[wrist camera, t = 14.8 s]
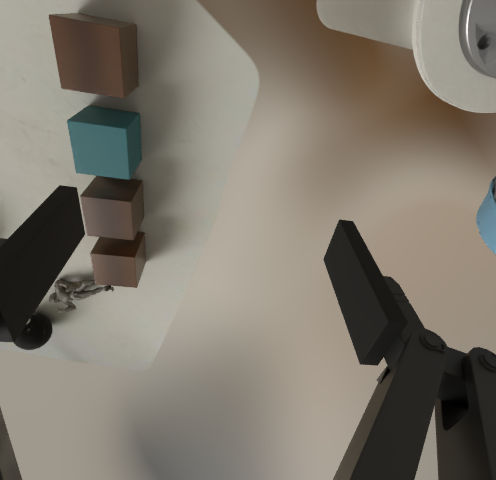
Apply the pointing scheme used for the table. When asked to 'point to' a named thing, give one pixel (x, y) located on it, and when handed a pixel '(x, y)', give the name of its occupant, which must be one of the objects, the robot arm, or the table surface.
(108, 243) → the walnut block
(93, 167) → the teal block
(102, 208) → the walnut block
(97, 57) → the walnut block
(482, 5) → the robot arm
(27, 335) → the billiard ball
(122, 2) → the table surface
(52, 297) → the figurine
